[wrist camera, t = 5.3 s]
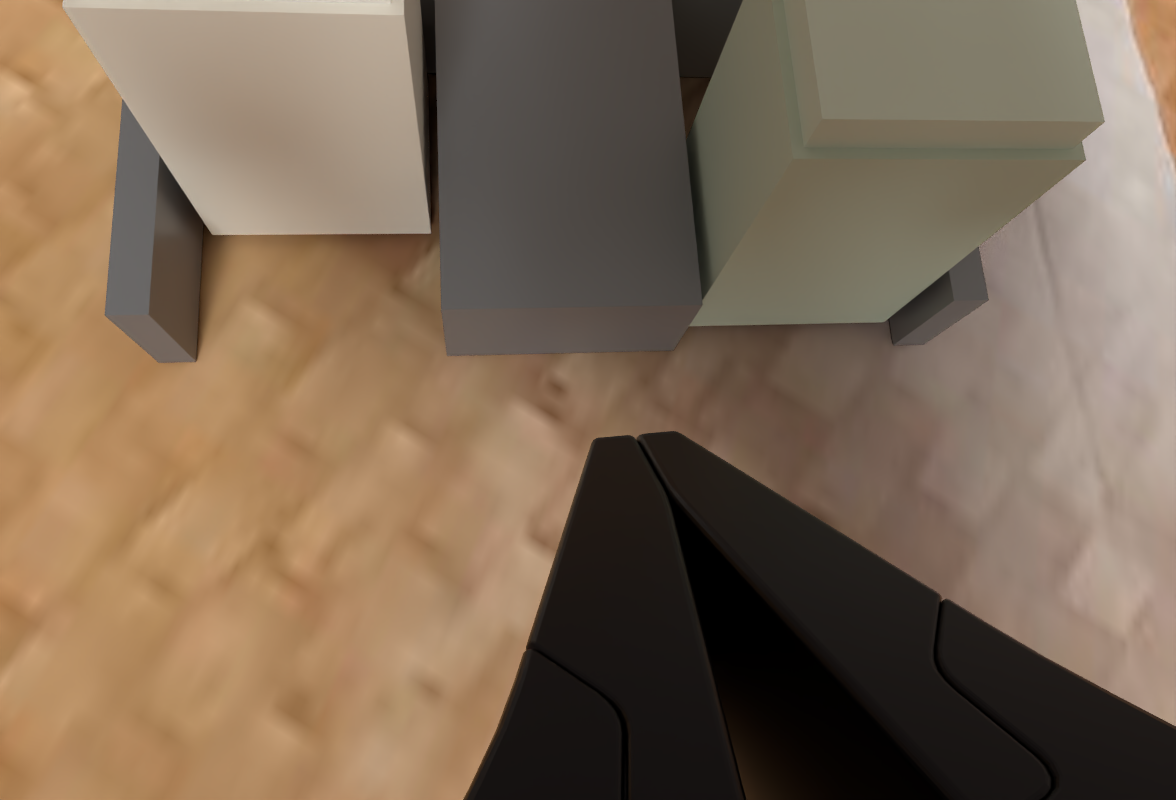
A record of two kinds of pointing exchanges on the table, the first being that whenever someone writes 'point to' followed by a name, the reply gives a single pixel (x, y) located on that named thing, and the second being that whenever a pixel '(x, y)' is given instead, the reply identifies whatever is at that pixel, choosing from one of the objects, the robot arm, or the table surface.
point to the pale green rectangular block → (876, 148)
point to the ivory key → (277, 107)
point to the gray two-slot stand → (520, 188)
